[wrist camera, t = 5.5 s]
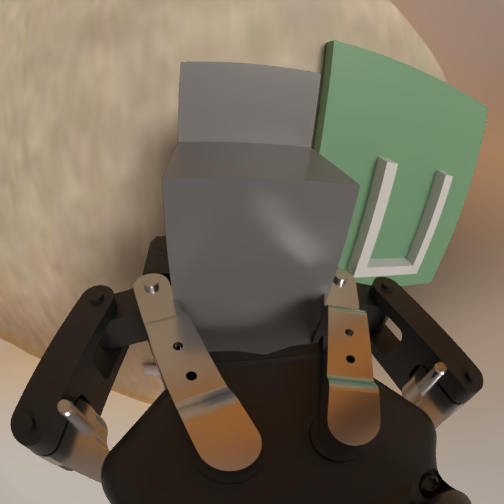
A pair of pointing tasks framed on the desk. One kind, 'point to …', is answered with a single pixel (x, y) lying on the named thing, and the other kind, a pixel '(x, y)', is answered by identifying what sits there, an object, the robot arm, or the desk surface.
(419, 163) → the green plate with u-rail
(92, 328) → the robot arm
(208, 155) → the grey stepped block
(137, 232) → the desk surface
